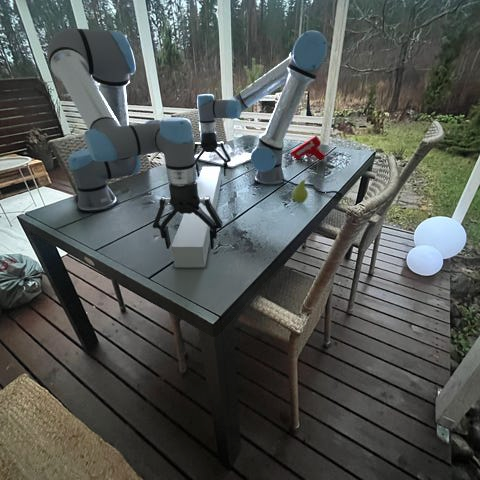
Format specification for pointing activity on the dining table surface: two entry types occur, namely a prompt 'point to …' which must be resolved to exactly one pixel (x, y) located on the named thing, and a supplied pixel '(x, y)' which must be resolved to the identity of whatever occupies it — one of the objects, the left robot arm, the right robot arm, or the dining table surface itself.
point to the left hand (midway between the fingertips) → (190, 246)
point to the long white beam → (197, 224)
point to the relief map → (236, 157)
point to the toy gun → (309, 149)
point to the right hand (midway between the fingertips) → (211, 175)
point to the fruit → (300, 192)
